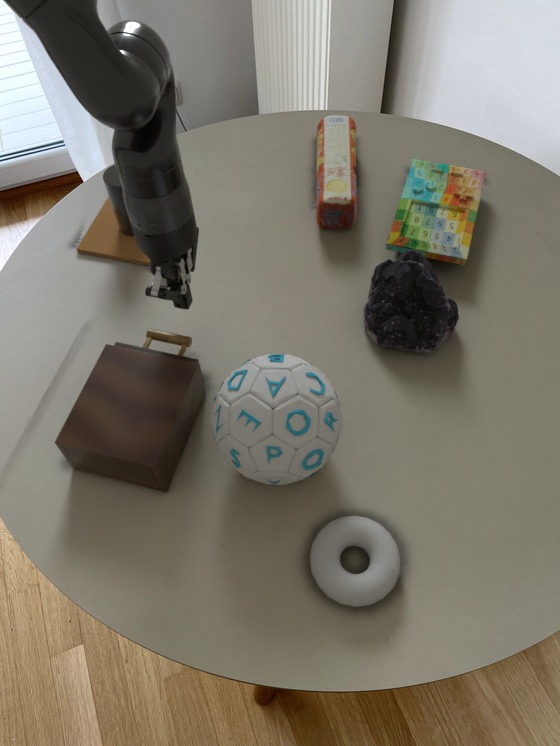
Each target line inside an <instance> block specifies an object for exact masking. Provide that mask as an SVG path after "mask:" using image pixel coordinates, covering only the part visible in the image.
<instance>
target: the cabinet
mask: <svg viewBox="0 0 560 746" xmlns="http://www.w3.org/2000/svg"><path fill="white" fill-rule="evenodd" d="M199 364H200V363H199ZM199 364H197V363H192V362H188V361H183V360H178V359H174V358H169V357H164V356H160V355H155V354H150V353H146V352H141V351H136V350H132V349H127V348H122V347H118V346H114V344H113V345H112V344H107V343H106V344H105V345H104V347H103V349H102V350H101V352H100V354H99V356H98V358H97V360H96V362H95V364H94V366H93V368H92V370H91V372H90V373H89V376H88V378H87V380H86V381H85V383H84V385H83V387H82V389H81V391H80V392H79V395H78V397H77V399H76V401H75V402H74V404H73V406H72V408H71V409H70V411H69V414H68V415H67V417H66V420H65V421H64V423H63V425H62V427H61V429H60V431H59V433H58V435H57V436H56V439H55V441H54V444H55V446H57V449H58V450H59V451H60V452H61V454H62V456H63V457H64V458H65V460H66V461H67V463H68V464H69V465H70V467H71V468H72V469H73V470H77V471H80V472H84V473H87V472H88V474H91V473H92V475H95V474H96V475H95V476H99V475H100V477H103V476H104V478H106V479H107V478H108V479H112V480H115V481H119V482H123V483H126V484H130V485H134V486H139V487H142V486H143V488H146V487H147V489H150V490H154V489H155V491H158V490H159V492H163V493H167V492H168V490H169V487H170V485H171V483H172V480H173V478H174V475H175V473H176V470H177V468H178V465H179V463H180V460H181V458H182V455H183V453H184V451H185V448H186V445H187V443H188V439H189V438H190V436H191V432H192V431H193V428H194V426H195V423H196V420H197V417H198V416H199V413H200V410H201V408H202V405H203V403H202V402H204V400H205V398H206V395H207V392H206V389H205V384H204V383H203V380H204V379H203V380H202V376H203V375H202V376H201V372H202V371H201V372H200V368H201V367H200V368H199ZM198 412H199V413H198Z"/></svg>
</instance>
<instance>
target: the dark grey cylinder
mask: <svg viewBox="0 0 560 746" xmlns="http://www.w3.org/2000/svg"><path fill="white" fill-rule="evenodd" d="M102 180H103V184H104V187H105V190H106V192H107V195H108V196H107V197H109V199H110V202H111V205H112V208H113V211H114V214H115V217H116V220H117V223H118V226H119V229H120V231H121V232H122V233H123V234H124V235H127V236H134V233H133V230H132V227H131V223H130V220H129V217H128V214H127V210H126V207H125V204H124V199H123V192H122V186H121V183H120V179H119V176H118V173H117V169H116V166H115V164H112V165H111V166H109V167H108V168H106V169H105V171H104V172H103V175H102Z"/></svg>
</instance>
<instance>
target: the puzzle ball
mask: <svg viewBox="0 0 560 746" xmlns="http://www.w3.org/2000/svg"><path fill="white" fill-rule="evenodd" d="M213 400H214V401H213V403H214V404H213V408H212V411H211V426H212V431H213V436H214V441H215V443H216V446H217V447H218V449H219V451H220V453H221V456H222V457H223V458H224V459H225V461H226V462H227V464H228V465H229V466H230V467H232V468H233V469H234V470H235V471H237V472H238V473H239V474H241V475H243V476H244V477H245V478H248V479H250V480H252V481H255V482H257V483H262V484H264V485H273V486H277V485H279V486H280V485H282V486H283V485H284V486H285V485H289V484H293V483H297V482H299V481H302V480H304V479H308V478H310V477H311V476H313V475H315V474H317V473H318V472H319V471H320V469H322V468H323V467H324V465H325V464H326V463H327V462H328V461H329V460H330V458H331V456H332V454H333V453H334V451H335V449H336V446H337V444H338V442H339V439H340V436H341V432H342V429H343V422H342V420H343V413H342V409H341V408H342V406H341V402H340V400H339V398H338V395H337V392H336V390H335V388H334V387H333V384H332V381H330V380H329V379H328V378H327V376H326V374H324V373H323V372H322V371H320V370H319V369H318V368H317V367H316V366H314V365H313V364H312V363H310V362H307V361H305V360H304V359H302V358H301V357H299V356H293V355H291V354H283V353H268V354H264V355H258V356H257V357H255V358H253V359H252V358H249V359H247V360H246V361H245V362H243V363H241V364H240V365H238V367H237V368H236V369H235V370H232V371H231V372H230V373H229V376H227V377H226V378H224V380H223V381H222V382H221V384H220V388H219V389H218V392H217V394H216V395H215V397H213Z"/></svg>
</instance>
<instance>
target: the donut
mask: <svg viewBox="0 0 560 746" xmlns="http://www.w3.org/2000/svg"><path fill="white" fill-rule="evenodd" d="M350 547H358V548H360V549H363V550H364V551H365V552H366V553H367V555H368V558H369V565H368V567H367V569H366V570H365V571H363V572H361V573H351V572H349V571H347V570H346V569H345V568H344V567H343V566H342V563H341V555H342V553H343V552H344V551H345V550H346V549H347V548H350ZM401 562H402V561H401V556H400V552H399V547H398V544H397V543H396V541H395V540H394V538H393V536H392V534H391V533H390V532H389V531H388V530H387V529H386V528H385V527H384V526H383V525H382V524H381V523H379V522H377V521H375V520H373V519H371V518H369V517H365V516H359V515H348V516H341V517H339V518H336V519H334V520H332V521H330V522H327V524H325V526H324V527H323V528H321V529H320V531H318V533H317V535H316V537H315V539H314V540H313V542H312V544H311V548H310V554H309V564H310V570H311V574H312V576H313V578H314V581H315V582H316V584H317V586H318V588H319V589H320V590H321V591H322V592H323V593H324V594H325V595H326V596H327V597H328V598H329V599H331V600H333V601H334V602H336V603H339V604H340V605H344V606H349V607H355V608H358V607H366V606H371V605H373V604H375V603H377V602H380V601H381V600H384V598H385V597H386V596H387V595H388V594H389V593H390V592H391V591H392V590H393V589H394V588H395V585H396V583H397V581H398V579H399V577H400V572H401Z"/></svg>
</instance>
